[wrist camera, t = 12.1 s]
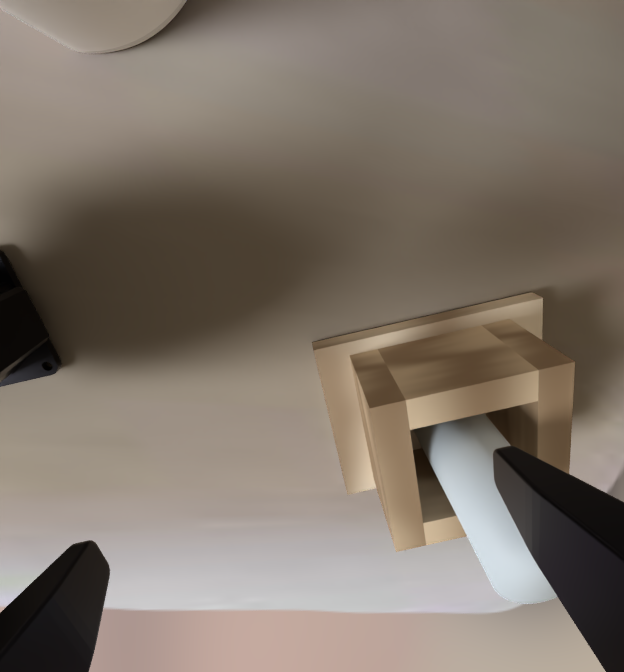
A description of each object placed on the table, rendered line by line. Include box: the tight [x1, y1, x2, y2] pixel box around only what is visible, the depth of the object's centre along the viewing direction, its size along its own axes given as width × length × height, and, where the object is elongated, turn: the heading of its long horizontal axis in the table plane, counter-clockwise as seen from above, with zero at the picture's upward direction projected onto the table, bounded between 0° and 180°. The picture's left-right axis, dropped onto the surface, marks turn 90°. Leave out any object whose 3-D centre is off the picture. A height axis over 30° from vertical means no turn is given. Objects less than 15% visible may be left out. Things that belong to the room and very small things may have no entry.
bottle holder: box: [312, 292, 575, 552], centre depth 21 cm, size 12×10×6 cm
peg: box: [413, 413, 558, 604], centre depth 18 cm, size 4×4×10 cm
